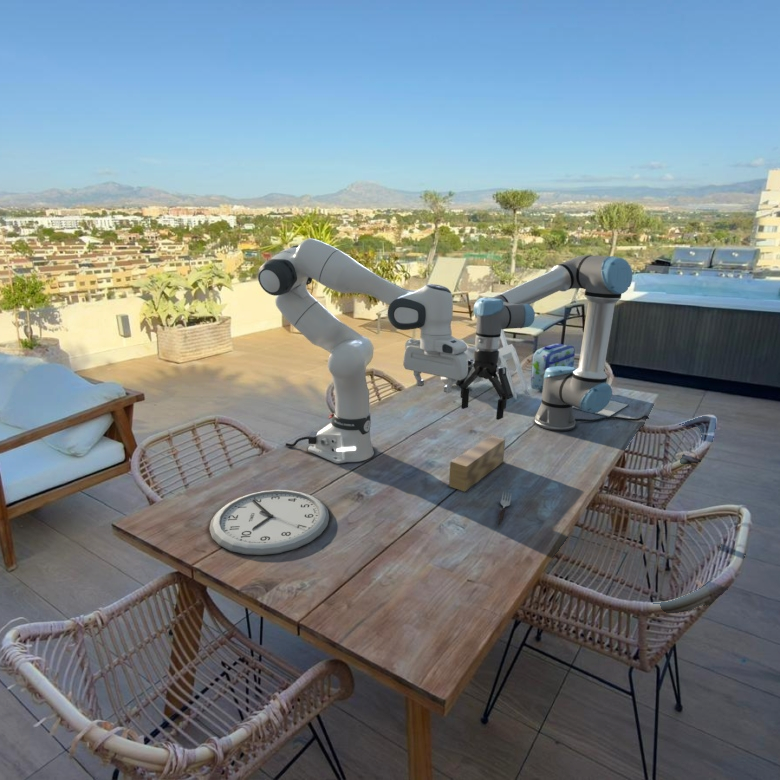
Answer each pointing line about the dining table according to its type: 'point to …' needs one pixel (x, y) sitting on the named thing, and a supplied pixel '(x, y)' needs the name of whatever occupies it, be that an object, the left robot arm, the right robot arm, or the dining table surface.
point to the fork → (504, 504)
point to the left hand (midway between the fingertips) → (433, 388)
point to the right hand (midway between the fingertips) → (481, 413)
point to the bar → (476, 463)
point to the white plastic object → (504, 355)
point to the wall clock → (269, 522)
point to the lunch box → (550, 361)
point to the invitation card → (611, 408)
